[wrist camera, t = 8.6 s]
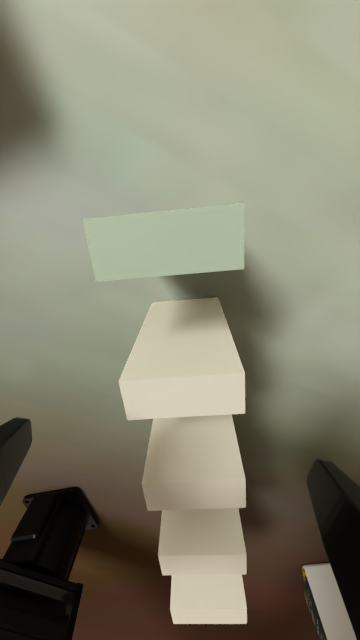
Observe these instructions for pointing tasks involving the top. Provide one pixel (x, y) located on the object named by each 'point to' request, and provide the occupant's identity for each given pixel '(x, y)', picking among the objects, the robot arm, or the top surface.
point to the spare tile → (167, 242)
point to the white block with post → (326, 603)
